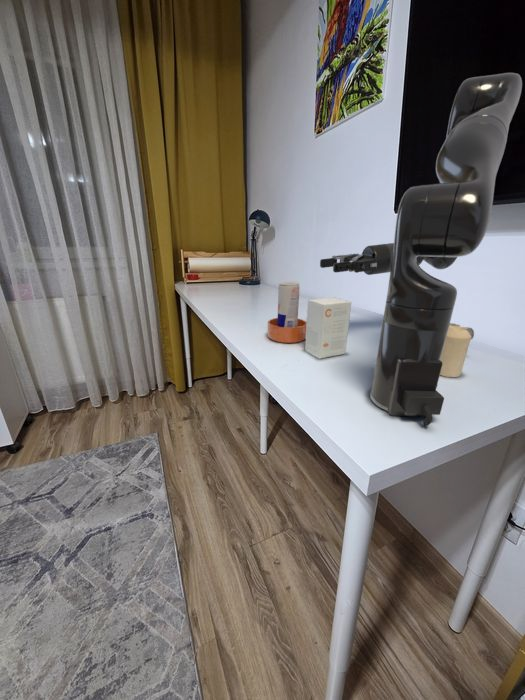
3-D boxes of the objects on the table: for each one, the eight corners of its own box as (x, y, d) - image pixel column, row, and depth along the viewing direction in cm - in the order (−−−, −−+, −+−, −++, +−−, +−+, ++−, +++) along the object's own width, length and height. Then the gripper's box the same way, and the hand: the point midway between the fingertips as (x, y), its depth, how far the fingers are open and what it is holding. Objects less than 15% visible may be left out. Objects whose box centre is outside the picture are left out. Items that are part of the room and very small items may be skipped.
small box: (330, 346, 76) (334, 296, 72) (346, 354, 71) (352, 301, 66) (304, 350, 73) (307, 299, 68) (318, 359, 68) (323, 304, 63)
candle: (445, 378, 59) (458, 331, 55) (424, 368, 64) (434, 324, 60) (466, 376, 60) (480, 329, 56) (444, 365, 65) (455, 322, 61)
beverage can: (296, 333, 85) (299, 281, 79) (296, 339, 80) (300, 284, 74) (277, 332, 85) (279, 280, 80) (276, 338, 80) (278, 283, 75)
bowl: (308, 344, 77) (309, 328, 76) (267, 343, 78) (267, 327, 76) (304, 332, 87) (305, 317, 86) (268, 331, 88) (268, 317, 86)
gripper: (370, 242, 83) (316, 248, 80) (401, 245, 70) (339, 253, 67) (368, 269, 86) (316, 275, 83) (398, 277, 73) (338, 285, 71)
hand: (326, 265), depth 75 cm, fingers open, 8 cm apart
